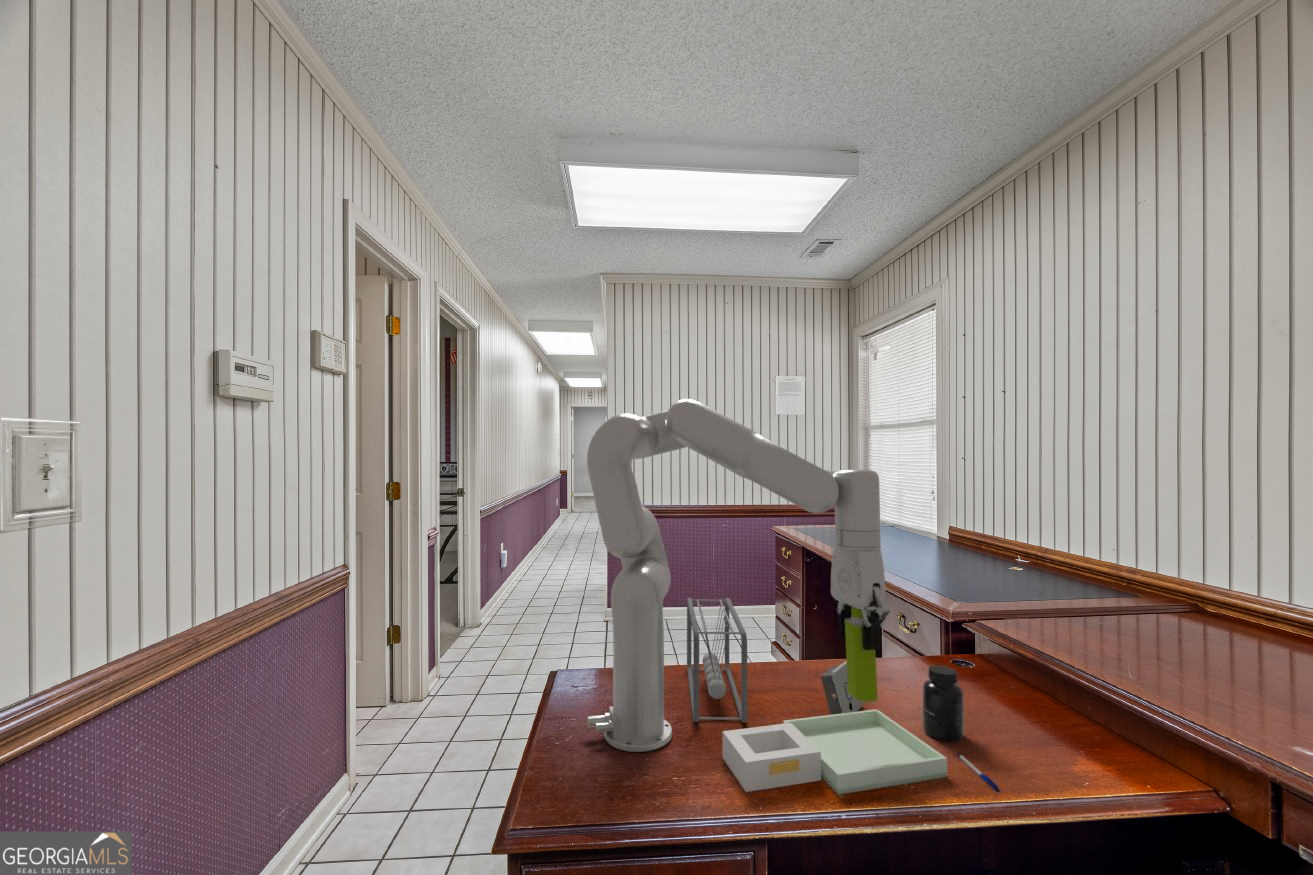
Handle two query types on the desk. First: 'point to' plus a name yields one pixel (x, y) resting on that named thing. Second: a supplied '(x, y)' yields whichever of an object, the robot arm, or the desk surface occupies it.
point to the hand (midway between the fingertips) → (859, 641)
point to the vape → (859, 661)
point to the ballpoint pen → (980, 773)
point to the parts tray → (869, 751)
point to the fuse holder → (771, 756)
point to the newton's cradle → (715, 661)
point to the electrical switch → (839, 690)
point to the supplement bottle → (943, 705)
